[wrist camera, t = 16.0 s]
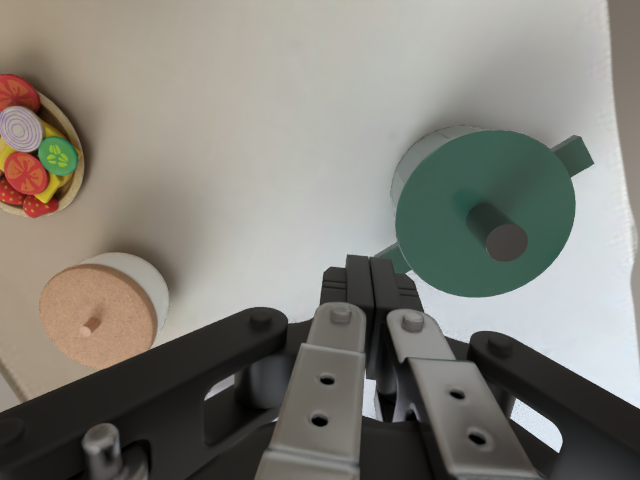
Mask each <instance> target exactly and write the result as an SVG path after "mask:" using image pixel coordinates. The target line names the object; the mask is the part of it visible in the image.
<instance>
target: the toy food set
mask: <svg viewBox="0 0 640 480" xmlns="http://www.w3.org/2000/svg"><path fill="white" fill-rule="evenodd" d="M83 176H84V156H83V150H82V147H81V143H80V141H79V138H78V136H77V133H76V131H75V129H74V128H73V126H72V124H71V123H70V121H69V120H68V118H67V117H66V116H65V114H64V113H63V112H62V111H61V110H60V109H59V108H58V107H57V106H56V105H55V104H54V103H53V102H52V101H51V100H50V99H48V98H47V97H46V96H44V95H43V94H41V93H40V92H38V91H36V90H35V89H34V88H33V87H32V85H31V84H30V83H28V82H27V81H26V80H24V79H23V78H21V77H18V76H16V75H13V74H2V75H0V208H1V209H3V210H5V211H7V212H10V213H13V214H16V215H20V216H26V217H33V218H37V217H42V216H48V215H51V214H54V213H57V212H59V211H60V210H62V209H64V208H65V207H66V206H68V205H69V204H70V203H71V202H72V200H73V199H74V198H75V197H76V195H77V193H78V192H79V189H80V187H81V184H82V181H83Z"/></svg>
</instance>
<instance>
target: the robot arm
mask: <svg viewBox="0 0 640 480" xmlns="http://www.w3.org/2000/svg"><path fill="white" fill-rule="evenodd" d="M365 368H366V379H371V380H376V389H375V396H374V405H375V410H376V415H377V420H375V419H372V418H368V417H365V416H362V405H363V389H364V374H365ZM232 375H234V384H233V385H231V386H229V387H228V388H226V389H224V390H222V391H221V392H219V393H217V394H215V395H213V396H212V397H210V398H208V399H206V400H205V397H206V395H207V393H208V392H209V390H210V389H211V388H212V387H213V386H214V385H216V384H217V383H219V382H221V381H223V380H224V379H226V378H228V377H230V376H232ZM516 398H517V399H519V400H520V401H522V402H523V403H525V404H526V405H528V406H529V407H531V408H532V409H534V410H535V411H537V412H538V413H540V414H541V415H543V416H544V417H545V418H547V419H548V420H550V421H551V422H553V423H554V424H555V425H556V427H557V428H558V429H559V431H560V433H561V435H562V439H563V443H562V447H561V449H560V452H559V453H557V452H556V451H555V450H553V449H552V448H550V447H549V446H548V445H546V444H545V443H544V442H542V441H541V440H539V439H538V438H537V437H535V436H534V435H532V434H531V433H530V432H528V431H527V430H526V429H524V428H523V427H521V426H520V425H519V424H517V423H516V422H515V421H513V420H512V419H510V416H511V413H512V410H513V406H514V403H515V400H516ZM204 400H205V401H204ZM276 418H278V419H277V421H274V420H275V419H276ZM272 421H273V422H272ZM0 480H640V409H639V408H637V407H635V406H633V405H631V404H630V403H628V402H626V401H624V400H623V399H621V398H619V397H617V396H615V395H614V394H612V393H610V392H608V391H606V390H605V389H603V388H601V387H599V386H598V385H596V384H594V383H592V382H590V381H589V380H587V379H585V378H583V377H582V376H580V375H578V374H576V373H574V372H573V371H571V370H569V369H567V368H565V367H564V366H562V365H560V364H558V363H557V362H555V361H553V360H551V359H549V358H548V357H546V356H544V355H542V354H541V353H539V352H537V351H535V350H533V349H532V348H530V347H528V346H526V345H524V344H523V343H521V342H519V341H517V340H516V339H514V338H512V337H510V336H507V335H505V334H502V333H498V332H493V331H479V332H476V333H474V334H473V335H472V336H471V338H470V342H469V344H468V343H465V342H461V341H458V340H454V339H451V338H448V337H446V336H444V335H443V333H442V331H441V329H440V327H439V325H438V323H437V322H436V320H435V319H434V318H432V317H431V316H429V315H428V314H425V313H424V310H423V307H422V304H421V301H420V298H419V295H418V292H417V289H416V286H415V283H414V281H413V280H412V279H411V278H410V277H408V276H407V275H406V274H400V273H395V272H394V268H393V264H392V260H391V259H389V258H379V257H369V258H368V256H358V255H348V254H347V258H346V266H345V268H340V267H330V268H328V269H327V270H326V271H325V272H324V274H323V281H322V289H321V297H320V305H319V307H318V308H317V309H316V311H315V315H314V317H313V318H312V319H310V320H307V321H304V322H300V323H290V324H288V319H287V317H286V315H285V314H283V313H282V312H280V311H278V310H276V309H273V308H267V307H254V308H249V309H246V310H243V311H241V312H238V313H236V314H233V315H231V316H229V317H226V318H224V319H222V320H219V321H217V322H214V323H212V324H210V325H207V326H205V327H203V328H200V329H198V330H195V331H193V332H191V333H188V334H186V335H184V336H181V337H179V338H176V339H174V340H172V341H169V342H167V343H165V344H162V345H160V346H157V347H155V348H153V349H150V350H148V351H146V352H143V353H141V354H138V355H136V356H134V357H131V358H129V359H127V360H124V361H122V362H119V363H117V364H115V365H112V366H110V367H108V368H105V369H103V370H100V371H98V372H96V373H93V374H91V375H89V376H86V377H84V378H81V379H79V380H77V381H74V382H72V383H70V384H67V385H65V386H62V387H60V388H58V389H55V390H53V391H51V392H48V393H46V394H43V395H41V396H39V397H36V398H34V399H32V400H29V401H27V402H24V403H22V404H20V405H17V406H15V407H13V408H10V409H8V410H5V411H3V412H1V413H0Z"/></svg>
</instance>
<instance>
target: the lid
mask: <svg viewBox="0 0 640 480" xmlns="http://www.w3.org/2000/svg"><path fill="white" fill-rule="evenodd" d="M575 204H576V202H575V192H574V188H573V184H572V180H571V178H570V176H569V173H568V171H567V169H566V168H565V166H564V165H563V163H562V161H561V160H560V159H559V158H558V157H557V156H556V155H555V153H554V152H553V151H551V150H550V149H549V148H548V147H547V146H545V145H544V144H542V143H540V142H539V141H537V140H536V139H533V138H531V137H529V136H526V135H524V134H520V133H516V132H512V131H507V130H498V129H495V130H480V131H473V132H469V133H466V134H462V135H459V136H457V137H454V138H452V139H450V140H448V141H446V142H444V143H442V144H441V145H439V146H437V147H436V148H435V149H433V150H432V151H431V152H429V153H428V154H427V155H426V156H425V157H424V158H423V159H422V160H421V161H420V162H419V163H418V164H417V165H416V166H415V167H414V169H413V170H412V171H411V173H410V174H409V176H408V177H407V179H406V181H405V183H404V185H403V187H402V189H401V191H400V194H399V197H398V200H397V205H396V210H395V232H396V237H397V241H398V245H399V248H400V250H401V252H402V255H403V257H404V258H405V260H406V262H407V264H408V265H409V266H410V267H411V269H412V270H413V271H414V272H415V273H416V274H417V275H418V276H419V277H420V278H421V279H422V280H424V281H425V282H426V283H428V284H429V285H431V286H433V287H435V288H436V289H438V290H441V291H443V292H446V293H449V294H453V295H457V296H463V297H490V296H495V295H500V294H504V293H507V292H510V291H513V290H515V289H517V288H519V287H521V286H523V285H525V284H527V283H528V282H530V281H532V280H533V279H535V278H536V277H537V276H539V275H540V274H541V273H543V272H544V271H545V270H546V269H547V268H548V267H549V266H550V265H551V264H552V263H553V261H554V260H555V259H556V258H557V257H558V255H559V254H560V252H561V251H562V249H563V248H564V246H565V244H566V242H567V240H568V238H569V235H570V232H571V229H572V226H573V222H574V217H575Z"/></svg>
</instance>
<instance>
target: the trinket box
mask: <svg viewBox="0 0 640 480" xmlns="http://www.w3.org/2000/svg"><path fill="white" fill-rule="evenodd" d="M168 311H169V292H168V288H167V285H166V282H165V281H164V279H163V277H162V275H161V274H160V273H159V271H158V270H157V269H156V268H155V267H154V266H153V265H151V264H150V263H149V262H147V261H146V260H144V259H142V258H140V257H137V256H135V255H131V254H128V253H104V254H99V255H95V256H93V257H90V258H87V259H85V260H82V261H81V262H79V263H77V264H75V265H74V266H72V267H69V268H67V269H65V270H63V271H62V272H60V273H58V274H57V275H55V276H54V277H53V278H52V279H51V280H49V282H48V283H47V284H46V286H45V287H44V290H43V292H42V294H41V298H40V317H41V321H42V324H43V326H44V329H45V331H46V333H47V334H48V336H49V337H50V339H51V340H52V341H53V343H54V344H55V345H56V346H57V347H58V348H59V349H60V350H61V351H62V352H63V353H65V354H66V355H67V356H69V357H70V358H72V359H74V360H75V361H77V362H79V363H82V364H84V365H86V366H90V367H94V368H99V369H105V368H108V367H110V366H112V365H115V364H117V363H119V362H122V361H124V360H127V359H129V358H131V357H134V356H136V355H138V354H141V353H143V352H146V351H148V350H149V349H150V348H151V346H152V345H153V343H154V341H155V339H156V338H157V336H158V335H159V333H160V332H161V330H162V328H163V326H164V324H165V321H166V318H167V315H168Z"/></svg>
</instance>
